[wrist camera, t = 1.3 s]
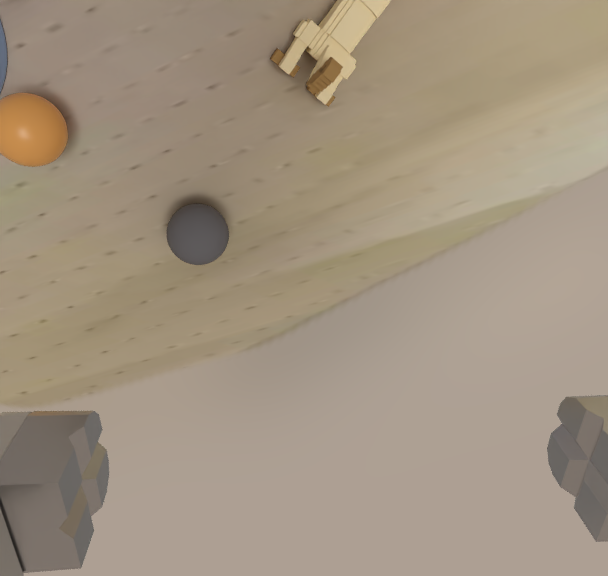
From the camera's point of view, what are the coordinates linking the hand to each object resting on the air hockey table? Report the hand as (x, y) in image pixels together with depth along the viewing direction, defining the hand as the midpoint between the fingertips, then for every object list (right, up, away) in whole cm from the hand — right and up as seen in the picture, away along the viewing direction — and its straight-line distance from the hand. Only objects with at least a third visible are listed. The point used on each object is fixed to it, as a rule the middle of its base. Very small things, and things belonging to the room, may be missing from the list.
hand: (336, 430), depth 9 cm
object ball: (-20, +14, +27) cm, 37 cm away
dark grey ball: (-9, +7, +33) cm, 35 cm away
